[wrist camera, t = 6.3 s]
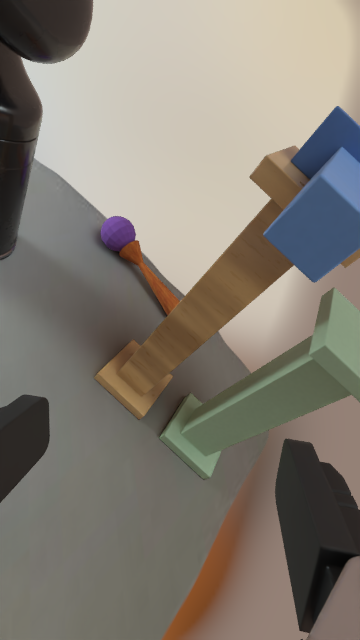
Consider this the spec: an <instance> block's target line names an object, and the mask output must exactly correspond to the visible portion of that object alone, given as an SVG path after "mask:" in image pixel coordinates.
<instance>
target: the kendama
mask: <svg viewBox="0 0 360 640" xmlns="http://www.w3.org/2000/svg"><path fill="white" fill-rule="evenodd" d="M135 236H136V234H135V229H134V226H133V225H132V224H131V222H130V221H129V220H127V219H126V218H124V217H121V216H120V217H119V216H113V217H111V218H109V219H107V220H106V221H105V222H104V223H103V225H102V229H101V237H102V240H103V242H104V243H105V244H106V246H107V247H108V248H110V249H111V250H113V251H120V253H119V255H120V256H121V257H123V258H124V259H126V260H128V261H130V262H132V263H134V264H136V265H137V266H139V268H140V270H141V271H142V273H143V275H144V276H145V278H146V280H147V282H148V283H149V285H150V287H151V288H152V290H153V292H154V293H155V295H156V297H157V299H158V300H159V302H160V304H161V305H162V307H163V309H164V310H165V312H166V314H167V316H168V315H169V314H170V313H171V311H172V310H173V309H174V308H175V307H176V306H177V305H178V304H179V302H180V301H179V300H178V299H177V298H176V297H175V296H174V294H173V293H172V292H171V291H170V290H169V289H168V288H167V287H166V286H165V285H164V284H163V283H162V282H161V281H160V280H159V278H158V277H157V276H156V275H155V274H154V273H153V272H152V271H151V270H150V269H149V268H148V267H147V266H146V265H145V264H144V262H143V259H142V254H141V249H140V245H139V241H135Z"/></svg>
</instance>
